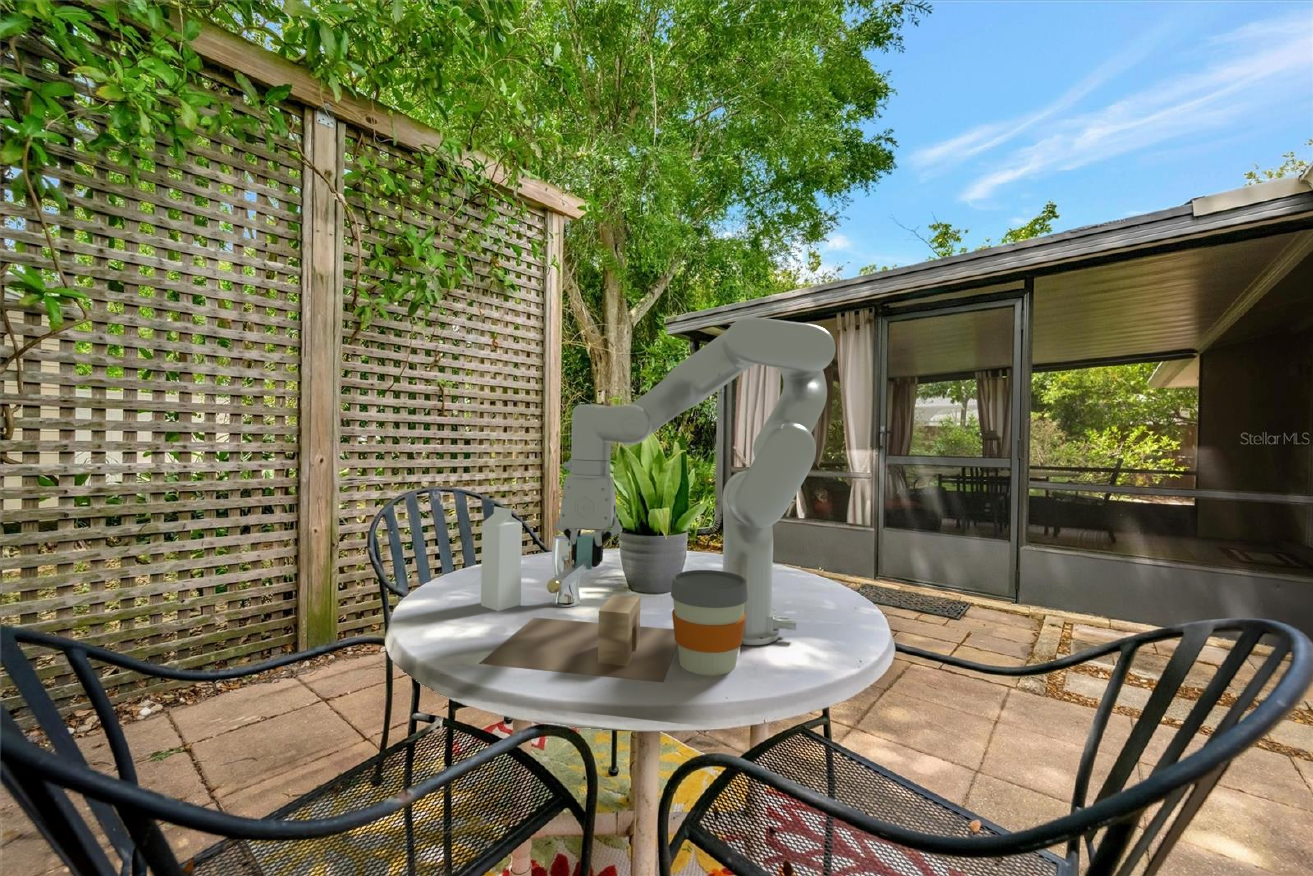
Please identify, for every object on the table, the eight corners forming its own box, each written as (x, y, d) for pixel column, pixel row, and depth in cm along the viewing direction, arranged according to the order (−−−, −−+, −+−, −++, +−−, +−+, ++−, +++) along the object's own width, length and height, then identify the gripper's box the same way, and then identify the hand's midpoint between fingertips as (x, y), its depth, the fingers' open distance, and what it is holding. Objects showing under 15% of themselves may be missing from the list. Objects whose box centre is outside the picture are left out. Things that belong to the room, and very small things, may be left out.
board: (682, 636, 105) (682, 629, 105) (663, 690, 83) (663, 682, 83) (533, 623, 110) (533, 617, 110) (478, 671, 88) (478, 663, 88)
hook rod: (560, 596, 87) (561, 558, 87) (542, 594, 87) (543, 556, 87) (597, 564, 108) (598, 534, 107) (582, 563, 108) (583, 533, 108)
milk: (497, 617, 114) (499, 511, 114) (480, 610, 118) (481, 507, 117) (521, 609, 119) (522, 508, 118) (503, 604, 122) (505, 505, 122)
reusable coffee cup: (683, 692, 83) (685, 592, 82) (659, 658, 95) (661, 571, 95) (759, 683, 86) (761, 587, 86) (727, 651, 98) (729, 567, 98)
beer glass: (579, 608, 120) (580, 540, 120) (547, 607, 120) (549, 539, 120) (584, 599, 127) (585, 534, 127) (554, 598, 127) (555, 533, 127)
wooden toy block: (639, 644, 98) (640, 596, 98) (627, 665, 89) (628, 613, 88) (612, 642, 98) (613, 594, 98) (597, 663, 89) (598, 610, 89)
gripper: (542, 468, 103) (539, 566, 104) (627, 472, 100) (624, 573, 101) (556, 466, 111) (553, 557, 111) (636, 470, 108) (632, 563, 108)
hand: (587, 563), depth 106 cm, fingers closed on hook rod, 3 cm apart
